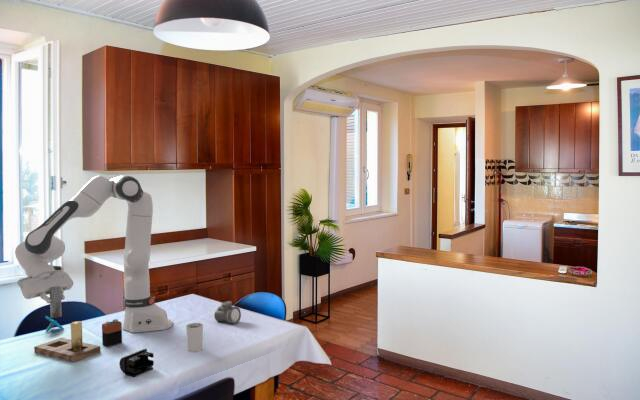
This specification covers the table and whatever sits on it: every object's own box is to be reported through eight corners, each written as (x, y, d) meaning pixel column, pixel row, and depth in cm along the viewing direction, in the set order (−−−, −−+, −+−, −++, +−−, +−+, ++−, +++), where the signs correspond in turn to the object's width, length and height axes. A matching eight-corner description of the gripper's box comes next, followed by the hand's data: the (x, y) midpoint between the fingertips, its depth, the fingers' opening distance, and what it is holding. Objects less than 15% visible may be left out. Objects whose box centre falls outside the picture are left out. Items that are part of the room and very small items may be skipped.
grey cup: (188, 353, 198) (188, 328, 198) (185, 348, 204) (184, 324, 204) (205, 350, 202) (204, 326, 201) (201, 345, 207) (200, 321, 207)
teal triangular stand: (66, 328, 226) (47, 315, 223) (56, 339, 224) (37, 326, 220) (63, 325, 235) (46, 313, 232) (54, 336, 233) (36, 323, 230)
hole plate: (34, 352, 200) (34, 346, 200) (61, 343, 211) (61, 337, 211) (74, 362, 190) (73, 356, 190) (100, 352, 200) (100, 346, 200)
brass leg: (84, 352, 200) (83, 321, 199) (80, 356, 196) (79, 324, 195) (74, 353, 199) (72, 321, 199) (70, 356, 196) (69, 324, 195)
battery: (122, 342, 211) (121, 319, 211) (107, 347, 206) (106, 323, 205) (117, 340, 214) (116, 318, 213) (102, 345, 209) (101, 321, 208)
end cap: (141, 364, 187) (141, 347, 187) (154, 368, 184) (154, 350, 183) (119, 374, 179) (118, 355, 178) (132, 378, 175) (132, 359, 175)
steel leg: (63, 314, 205) (62, 286, 204) (59, 317, 201) (58, 288, 200) (53, 315, 204) (52, 286, 203) (48, 318, 200) (47, 288, 199)
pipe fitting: (243, 320, 240) (239, 300, 240) (232, 326, 233) (228, 305, 233) (224, 319, 246) (220, 299, 246) (213, 325, 239) (209, 305, 239)
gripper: (18, 274, 195) (35, 301, 191) (65, 265, 213) (81, 290, 209) (12, 284, 197) (28, 311, 194) (59, 275, 216) (75, 299, 212)
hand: (56, 300), depth 202 cm, fingers closed on steel leg, 4 cm apart
